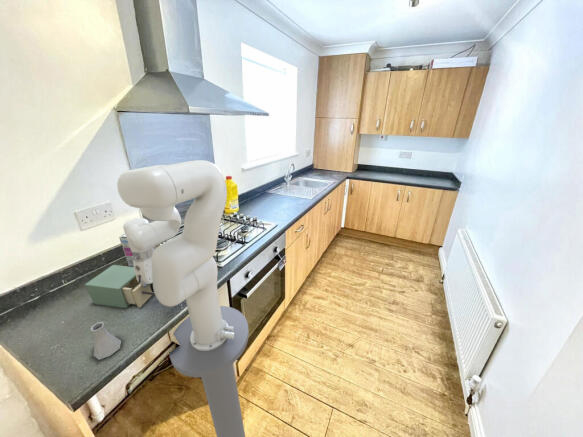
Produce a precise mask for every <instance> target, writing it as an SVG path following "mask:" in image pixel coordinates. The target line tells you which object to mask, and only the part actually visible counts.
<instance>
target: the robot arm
mask: <svg viewBox="0 0 583 437" xmlns="http://www.w3.org/2000/svg"><path fill="white" fill-rule="evenodd" d="M116 186H117V187H116V188H117V193H118V195H119V197H120V199H121V200H122V201H123V202H124V204H126V205H128V206H129V207H133V208H136V209H140V212H141V214H142V215H143V216H144V217H145V218H144V217H136V218H131V219H129V220H126V221H125V222H124V223H123V226H122V229H123V231H124V234H125V235H126V238H127V240H128V243H129V246H130V249H131V252H132V255H133V257H132V260H133V265H134V271H135V275H136V278H137V281H138V282H139V283H141V288H146V287H147V286H148V285H150V288H151V291H152V292H154V293H155V295H156V296H155V298H156V300H158V302H159V303H160V304H161V305H163V306H165V307H171V308H172V307H175V306H177V305H179V304H181V303H183V302H184V301H185V302H186V307H187V311H188V315H189V316H190V320H191V324H192V328H193V331H192V333H191V336H190V341H191V345H192V346H193V347H194V348H195V349H196V350H198V351H210V350H213V349H215V348H217V347H219V346H220V345H221V344H223V342H224V341H225V340H226V339H227V338H229V339H233V338H234V335H235V333H233V332H229V331H233V329H234V327H231V326H230V327H229V326H228V324H227V322H226V321H224V320H223V319H222V314H221V308H220V306H221V302H220V297H219V296H220V295H219V290H218V274H219V273H218V271H219V270H218V265H217V262H216V260H215V258H214V256H215V253H216V251H217V246H218V240H219V235H220V234H219V233H220V228H221V221H222V218H223V215H224V211H225V208H226V204H227V198H228V197H227V196H228V190H227V189H228V188H227V183H226V180H225V177H224V175H223V173H222V171H221V169H220V168H219V167H218V165H216V164H215V163H213V162H211V161H209V160H203V159H195V160H187V161H182V162H176V163H173V164H155V165H149V166H145V167H140V168H134V169H129V170H125V171H124V172H123V171H122V173H121V174H120V175H119V177H118V179H117V183H116ZM193 199H194V200H193ZM191 200H193V201H192V203H191V204H190V206H189V207H188V209H187V211H186V213H185V216H184V219H183V230H182V232H181V233H180V234H179V235H178V233H179V231H180V229H181V226H182V217H181V214H180V212H179V210H178V209H177V208H176V205H179V204H181V203H185V202H187V201H191ZM147 219H149V220H151V222H149V220H147ZM158 244H160V245H159V246H158V247H157V248H156V245H158ZM189 316H188V317H189Z"/></svg>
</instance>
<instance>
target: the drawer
mask: <svg viewBox="0 0 583 437" xmlns="http://www.w3.org/2000/svg"><path fill="white" fill-rule="evenodd" d="M121 290H122V293H123V296H124V298H125V301H126V303H129V304H130V305H136V307H137V308H141V307H142V306H143V305H144V304H145V303H146V302H147V301H148V300H149V299H150V298H151V297H152V296H154V297H156V295H155V293H154V292H152V291H151V288H150V285H148V286H147V287H146V288H141V283H139V282H138V281H137V278H136V277H135V278H134V279H132V280H131V281H130V282H129V283H128V284H126V285H125V286H124V287H123V288H122V289H121Z"/></svg>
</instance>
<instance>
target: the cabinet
mask: <svg viewBox="0 0 583 437" xmlns="http://www.w3.org/2000/svg"><path fill="white" fill-rule="evenodd" d="M135 277H136V275H135V271H134V267H133V266H128V265H118V264H112V265H111V266H109V267H108V268H106V269H105V270H103V271H102V272H101V273H100V274H97V275H96V276H95V277H94V278H91V280H89V281H87V282H86V283H84V286H85V288H86V290H87V293H88V295H89V297H90V298H91V301H92V303H93V305H98V306H99V305H100V306H107V307H114V308H121V309H122V308H123V309H128V308H129V306H131V304H129V303H126V301H125V298H124V296H123V293H122V290H121V289H122V288H123V287H124V286H125V285H126V284H128V283H129V282H130V281H131V280H132V279H134V278H135Z"/></svg>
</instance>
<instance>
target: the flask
mask: <svg viewBox="0 0 583 437" xmlns="http://www.w3.org/2000/svg"><path fill="white" fill-rule="evenodd" d="M90 331H91V332H93V336H94V347H93V357H94V358H95V359H97V360H98V361H100V360H103V359H105V358H108V357H110V356H112V355H113V354H114V353H116V352H117V351H118V350H120V349H121V344H122V340H121V339H120V338H118V337H116V336H115V335H114V334H112V333H110V332H109V331H108V330H107V329H106V328H105V323H104V322H103V321H99V322H96V323H94V324H93V325H91V327H90Z"/></svg>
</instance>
